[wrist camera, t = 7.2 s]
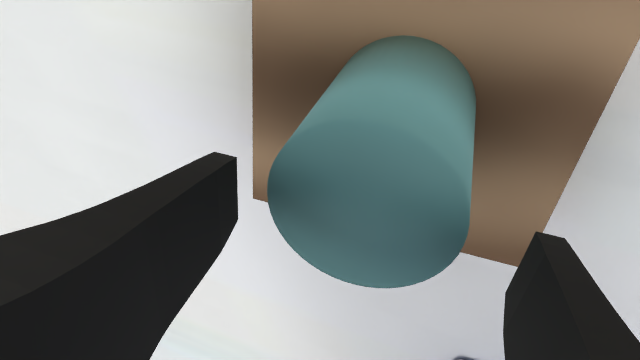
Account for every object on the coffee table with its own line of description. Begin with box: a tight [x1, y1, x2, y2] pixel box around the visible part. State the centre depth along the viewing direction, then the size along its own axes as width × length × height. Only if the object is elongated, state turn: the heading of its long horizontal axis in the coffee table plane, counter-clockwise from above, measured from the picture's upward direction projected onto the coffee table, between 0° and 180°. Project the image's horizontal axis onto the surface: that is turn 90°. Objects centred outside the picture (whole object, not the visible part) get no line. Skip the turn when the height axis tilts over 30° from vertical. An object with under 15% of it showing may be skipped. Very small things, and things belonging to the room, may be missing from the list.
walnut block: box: [252, 0, 640, 267], centre depth 18 cm, size 12×12×4 cm
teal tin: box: [267, 35, 476, 288], centre depth 14 cm, size 5×5×6 cm
